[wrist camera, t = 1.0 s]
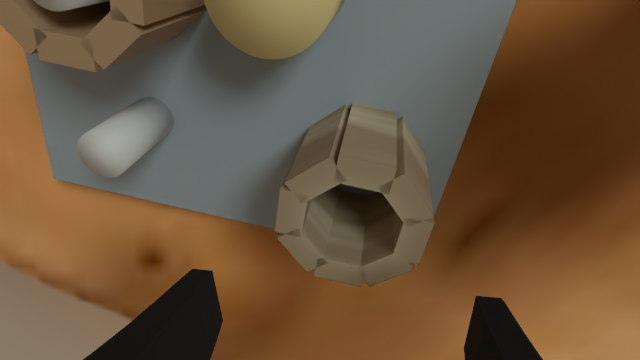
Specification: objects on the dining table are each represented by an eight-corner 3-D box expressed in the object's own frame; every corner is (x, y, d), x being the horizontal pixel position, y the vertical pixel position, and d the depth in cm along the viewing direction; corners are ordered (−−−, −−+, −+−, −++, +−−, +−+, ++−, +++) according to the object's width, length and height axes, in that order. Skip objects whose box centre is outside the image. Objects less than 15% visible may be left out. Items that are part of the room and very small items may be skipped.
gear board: (545, -110, 14) (648, -143, 8) (415, 243, 22) (422, 347, 17) (2, -204, 15) (-238, -292, 9) (72, 165, 23) (-32, 238, 18)
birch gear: (437, 120, 17) (451, 180, 13) (403, 221, 20) (406, 297, 16) (312, 94, 17) (285, 144, 13) (296, 197, 20) (270, 266, 16)
